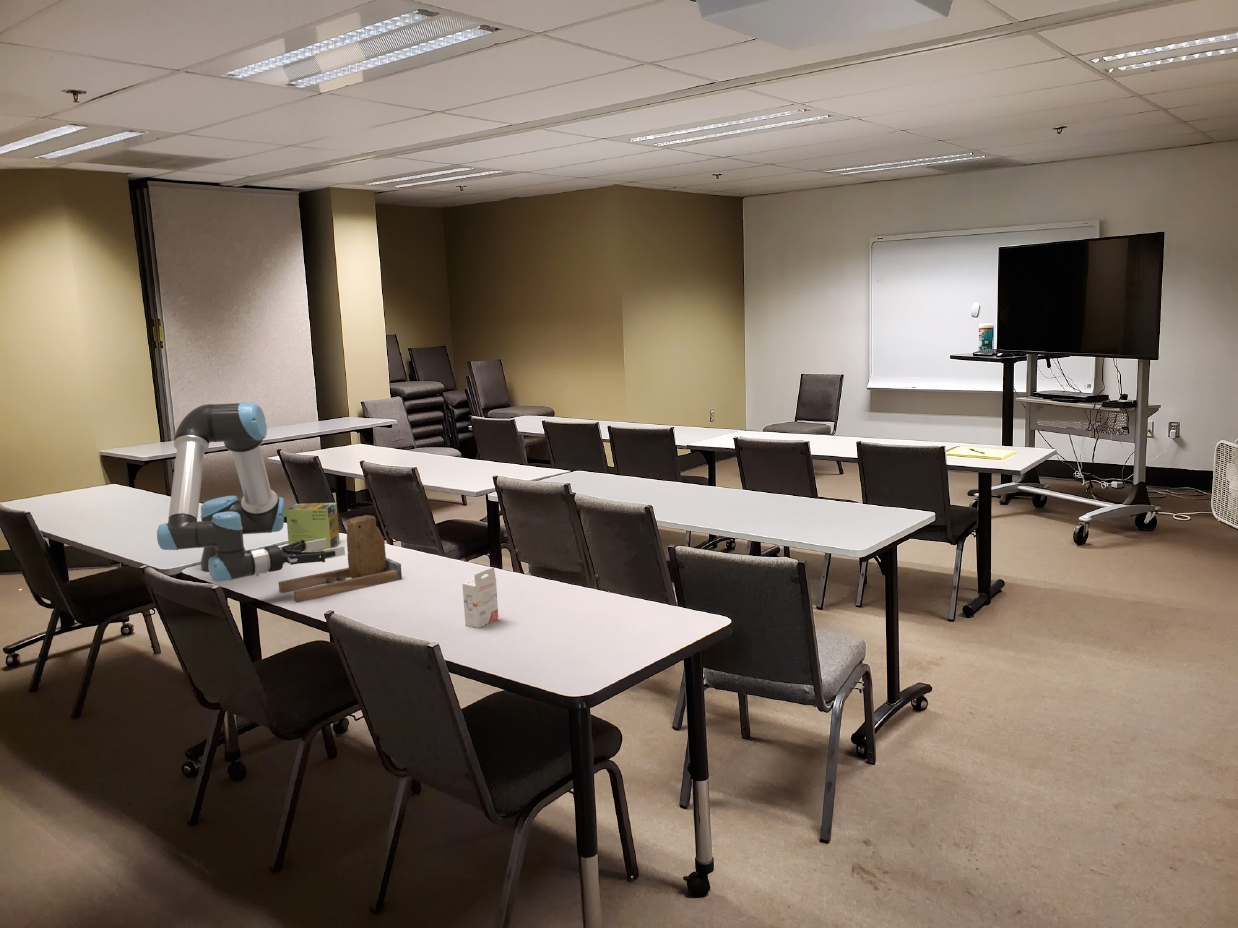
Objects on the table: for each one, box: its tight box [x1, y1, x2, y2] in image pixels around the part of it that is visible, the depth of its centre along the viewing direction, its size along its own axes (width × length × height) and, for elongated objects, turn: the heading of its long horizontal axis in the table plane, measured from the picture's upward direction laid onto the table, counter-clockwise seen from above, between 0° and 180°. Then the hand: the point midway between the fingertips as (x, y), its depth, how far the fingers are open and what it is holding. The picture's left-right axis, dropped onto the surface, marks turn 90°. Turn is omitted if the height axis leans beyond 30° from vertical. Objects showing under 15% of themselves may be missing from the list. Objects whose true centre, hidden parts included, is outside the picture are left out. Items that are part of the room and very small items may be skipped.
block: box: [346, 514, 387, 579], centre depth 291 cm, size 11×8×20 cm
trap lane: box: [278, 557, 403, 603], centre depth 287 cm, size 15×34×5 cm, turn 129°
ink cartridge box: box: [462, 567, 499, 629], centre depth 248 cm, size 9×5×15 cm, turn 148°
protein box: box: [285, 502, 341, 552], centre depth 334 cm, size 10×15×16 cm
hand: (335, 546), depth 285 cm, fingers open, 13 cm apart
